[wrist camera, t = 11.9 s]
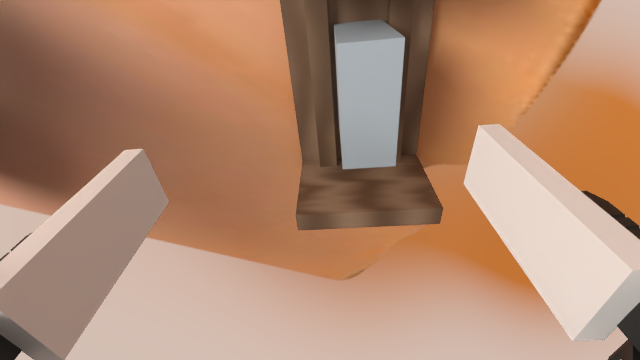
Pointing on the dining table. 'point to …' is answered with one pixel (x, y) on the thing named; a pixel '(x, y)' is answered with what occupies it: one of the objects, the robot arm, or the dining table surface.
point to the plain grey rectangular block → (368, 92)
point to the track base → (323, 121)
